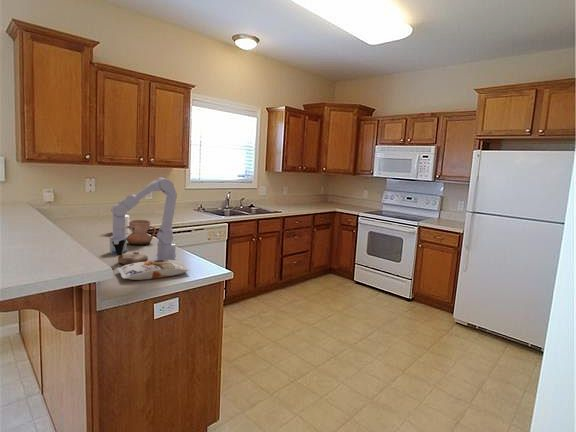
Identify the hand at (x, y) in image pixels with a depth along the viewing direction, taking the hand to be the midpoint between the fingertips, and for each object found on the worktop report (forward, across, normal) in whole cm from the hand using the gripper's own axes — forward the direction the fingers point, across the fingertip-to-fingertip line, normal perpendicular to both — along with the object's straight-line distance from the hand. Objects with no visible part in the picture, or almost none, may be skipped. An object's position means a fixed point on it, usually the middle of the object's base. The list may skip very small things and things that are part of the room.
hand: (119, 254), depth 177 cm
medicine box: (+5, -23, -5) cm, 24 cm away
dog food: (+5, +15, +18) cm, 24 cm away
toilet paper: (+5, -75, -13) cm, 76 cm away
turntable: (+4, -3, +6) cm, 8 cm away
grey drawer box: (+5, -12, +6) cm, 14 cm away
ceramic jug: (+5, -44, +4) cm, 45 cm away
